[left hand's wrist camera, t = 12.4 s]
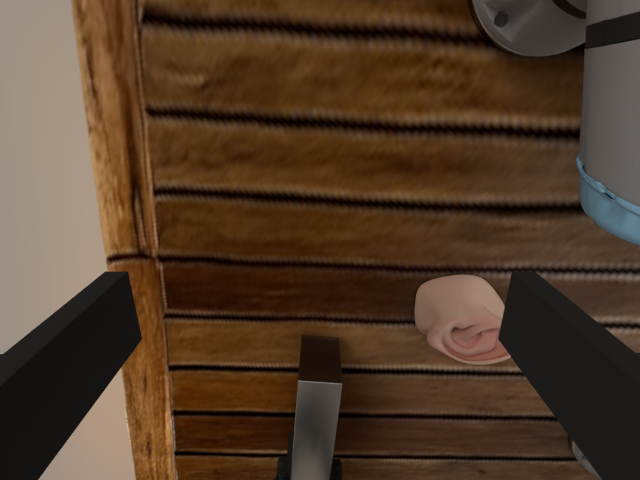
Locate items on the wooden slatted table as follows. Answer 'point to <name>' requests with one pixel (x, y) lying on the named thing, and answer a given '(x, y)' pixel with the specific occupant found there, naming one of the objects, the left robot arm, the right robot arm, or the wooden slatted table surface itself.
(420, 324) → the anatomical model
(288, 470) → the right robot arm
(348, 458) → the wooden slatted table surface
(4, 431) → the left robot arm
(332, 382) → the bar
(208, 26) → the wooden slatted table surface
